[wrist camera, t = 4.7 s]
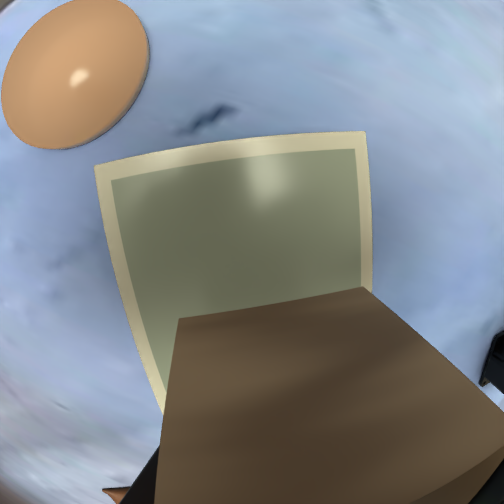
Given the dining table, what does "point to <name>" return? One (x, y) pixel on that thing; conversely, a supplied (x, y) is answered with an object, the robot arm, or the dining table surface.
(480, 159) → the dining table surface
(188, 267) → the base
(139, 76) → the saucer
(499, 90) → the dining table surface
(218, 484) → the block
